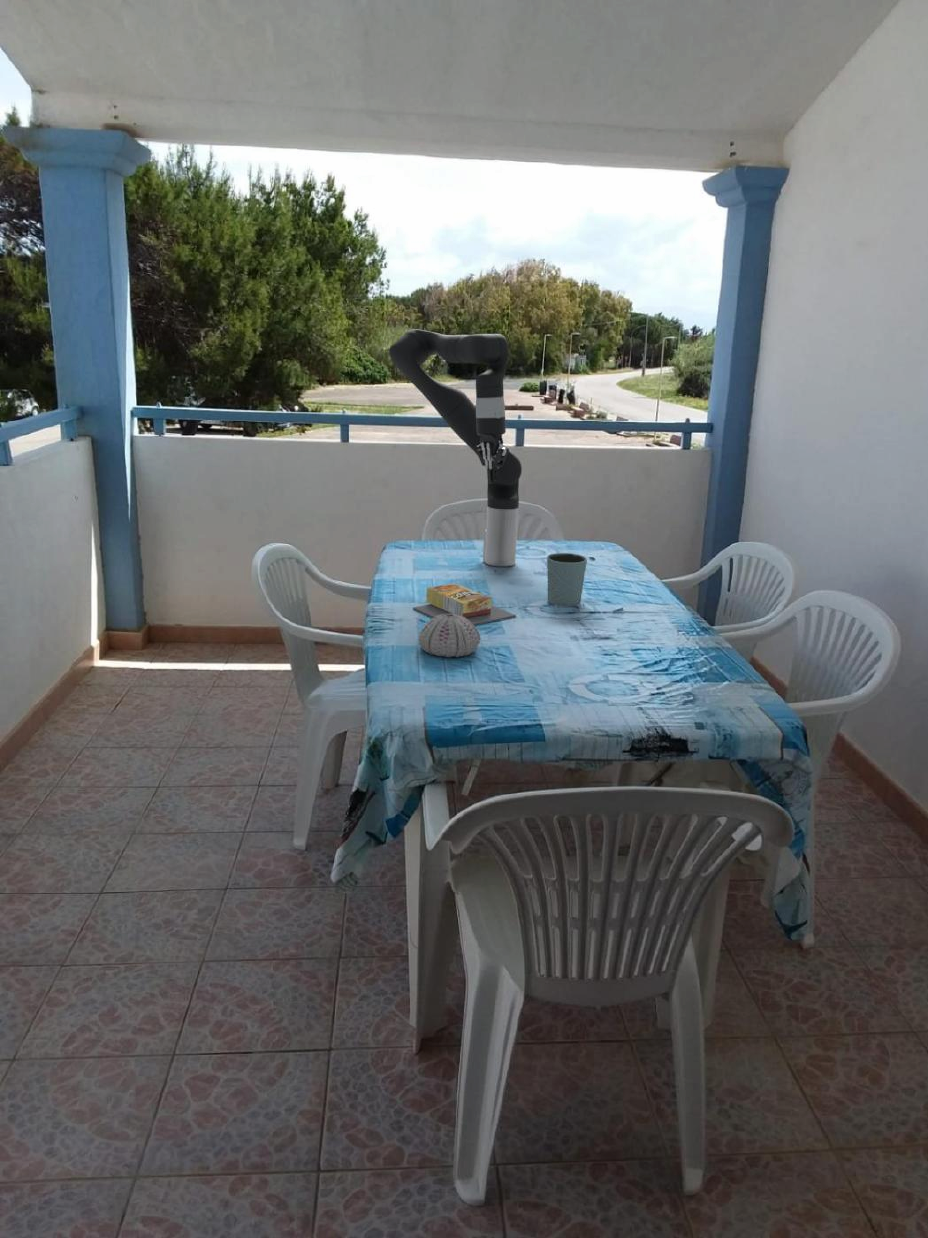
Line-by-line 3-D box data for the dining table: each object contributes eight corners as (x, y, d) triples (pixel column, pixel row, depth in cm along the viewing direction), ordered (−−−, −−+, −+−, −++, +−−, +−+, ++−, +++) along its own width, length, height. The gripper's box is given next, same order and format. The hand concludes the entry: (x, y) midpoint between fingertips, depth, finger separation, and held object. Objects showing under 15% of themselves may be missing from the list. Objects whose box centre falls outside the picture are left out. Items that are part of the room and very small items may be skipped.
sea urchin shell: (458, 666, 178) (459, 629, 175) (404, 652, 184) (405, 616, 182) (490, 648, 188) (492, 613, 186) (439, 636, 195) (440, 602, 193)
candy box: (454, 582, 220) (492, 597, 209) (453, 598, 222) (491, 613, 210) (425, 587, 215) (463, 602, 204) (425, 603, 217) (462, 619, 205)
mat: (412, 609, 213) (412, 607, 213) (470, 598, 224) (470, 596, 224) (457, 629, 200) (457, 627, 200) (515, 617, 210) (516, 615, 210)
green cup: (586, 600, 227) (590, 555, 223) (578, 610, 218) (582, 564, 214) (549, 595, 230) (552, 551, 226) (539, 605, 221) (542, 559, 217)
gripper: (464, 415, 226) (467, 482, 231) (492, 417, 215) (494, 487, 220) (488, 413, 229) (490, 479, 234) (517, 415, 218) (519, 483, 223)
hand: (492, 482), depth 227 cm, fingers closed
